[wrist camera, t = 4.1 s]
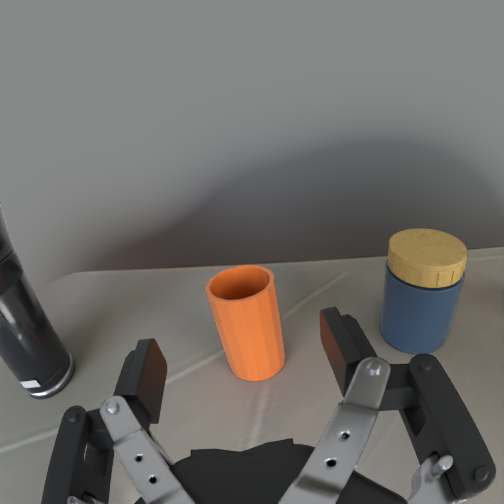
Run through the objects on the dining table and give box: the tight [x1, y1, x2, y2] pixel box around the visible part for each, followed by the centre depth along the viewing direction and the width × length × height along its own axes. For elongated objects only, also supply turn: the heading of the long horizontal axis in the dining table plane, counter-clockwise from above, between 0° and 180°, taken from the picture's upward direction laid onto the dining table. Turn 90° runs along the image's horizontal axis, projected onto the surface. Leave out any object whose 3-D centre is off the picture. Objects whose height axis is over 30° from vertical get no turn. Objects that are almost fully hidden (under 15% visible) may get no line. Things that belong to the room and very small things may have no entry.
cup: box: [205, 265, 286, 381], centre depth 27 cm, size 6×6×10 cm
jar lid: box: [388, 229, 467, 288], centre depth 24 cm, size 8×8×2 cm
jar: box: [380, 259, 465, 354], centre depth 26 cm, size 9×9×10 cm
